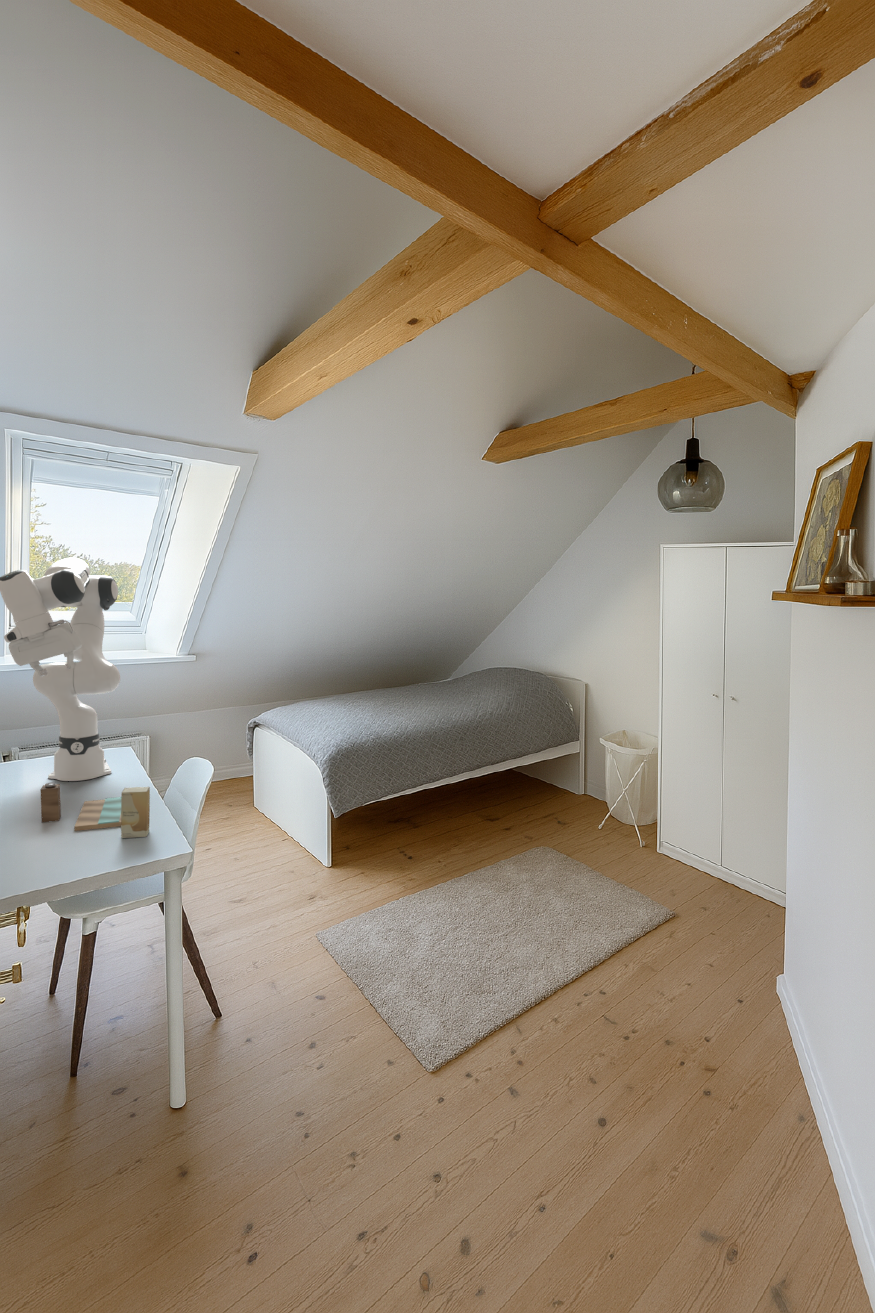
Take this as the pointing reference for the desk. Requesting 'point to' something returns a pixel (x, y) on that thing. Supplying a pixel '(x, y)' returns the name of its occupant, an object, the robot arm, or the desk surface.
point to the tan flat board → (99, 814)
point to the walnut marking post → (50, 802)
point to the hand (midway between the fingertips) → (57, 671)
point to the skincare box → (135, 812)
